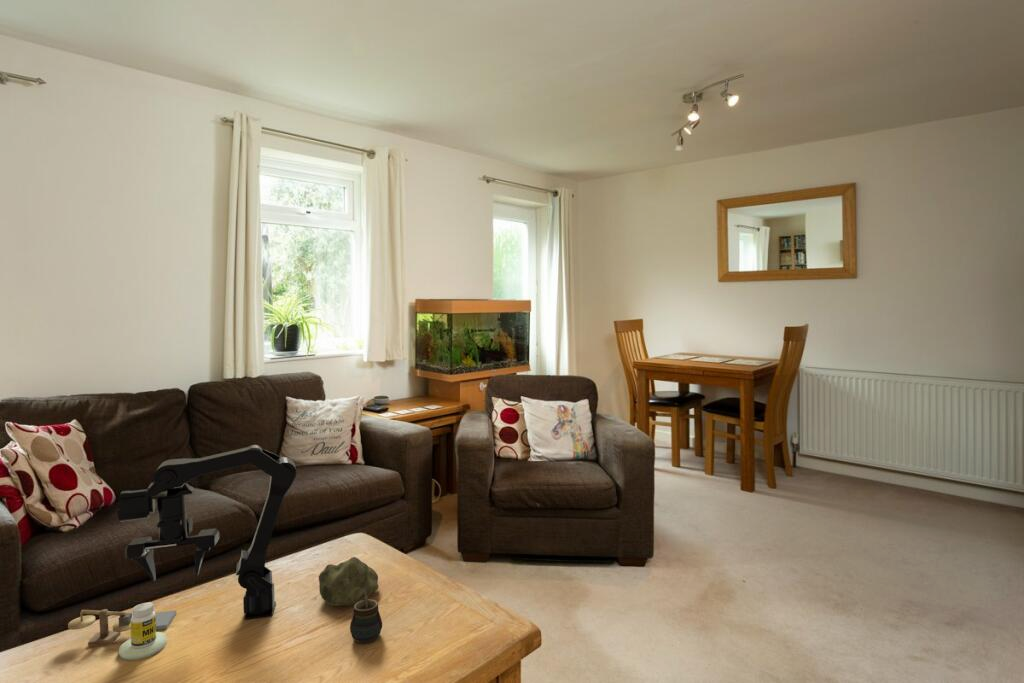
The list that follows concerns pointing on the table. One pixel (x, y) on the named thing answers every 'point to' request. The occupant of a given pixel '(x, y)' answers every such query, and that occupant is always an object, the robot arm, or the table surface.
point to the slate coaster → (164, 619)
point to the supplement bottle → (143, 625)
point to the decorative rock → (347, 582)
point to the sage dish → (138, 653)
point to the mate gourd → (365, 621)
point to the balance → (102, 625)
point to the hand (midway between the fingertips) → (175, 577)
